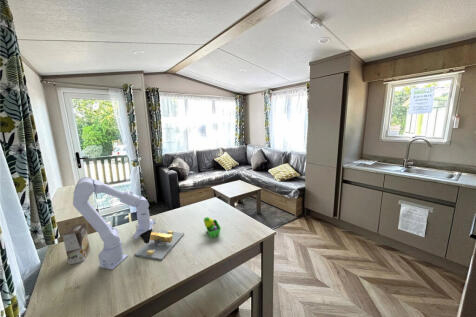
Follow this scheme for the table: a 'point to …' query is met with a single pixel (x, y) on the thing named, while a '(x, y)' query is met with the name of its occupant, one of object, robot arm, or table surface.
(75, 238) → the coffee box
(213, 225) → the fruit basket
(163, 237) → the long golden bar
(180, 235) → the base
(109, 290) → the table surface
